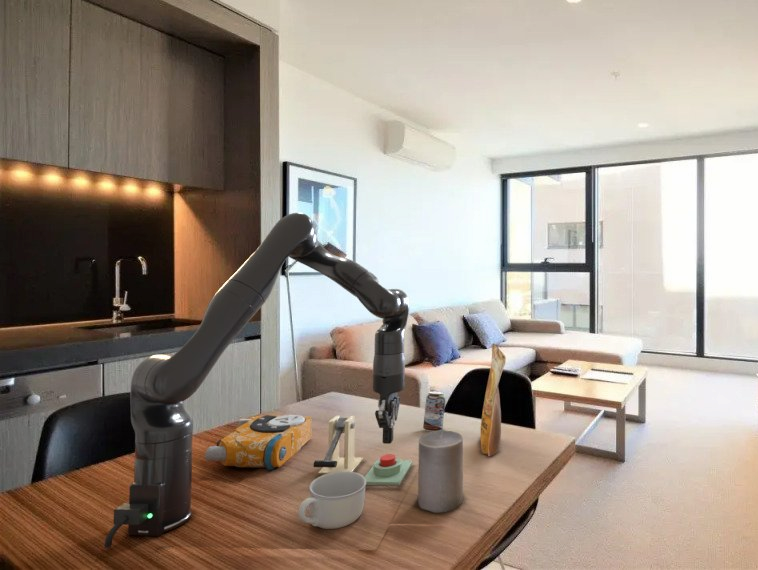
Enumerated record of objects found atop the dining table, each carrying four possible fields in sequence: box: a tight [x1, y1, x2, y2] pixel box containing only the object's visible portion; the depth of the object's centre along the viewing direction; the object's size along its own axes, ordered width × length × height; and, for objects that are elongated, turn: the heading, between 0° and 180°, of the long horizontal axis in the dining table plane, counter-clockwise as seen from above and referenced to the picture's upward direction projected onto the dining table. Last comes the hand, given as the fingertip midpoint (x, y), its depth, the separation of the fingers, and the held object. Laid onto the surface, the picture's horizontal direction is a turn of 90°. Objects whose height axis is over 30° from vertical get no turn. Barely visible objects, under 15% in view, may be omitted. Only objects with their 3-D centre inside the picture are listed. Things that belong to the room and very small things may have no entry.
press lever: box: [313, 417, 348, 468], centre depth 111 cm, size 13×5×2 cm, turn 178°
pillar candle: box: [417, 430, 464, 514], centre depth 99 cm, size 10×10×15 cm
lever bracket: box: [317, 415, 364, 474], centre depth 115 cm, size 9×8×13 cm
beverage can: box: [422, 390, 446, 432], centre depth 143 cm, size 6×7×12 cm
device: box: [204, 414, 313, 471], centre depth 126 cm, size 23×8×30 cm
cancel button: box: [379, 453, 396, 467], centre depth 111 cm, size 4×4×2 cm
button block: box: [364, 457, 413, 486], centre depth 111 cm, size 12×9×4 cm
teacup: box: [297, 471, 367, 530], centre depth 90 cm, size 14×11×8 cm
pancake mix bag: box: [479, 343, 507, 457], centre depth 131 cm, size 7×19×28 cm, turn 4°
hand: (387, 442), depth 110 cm, fingers closed
